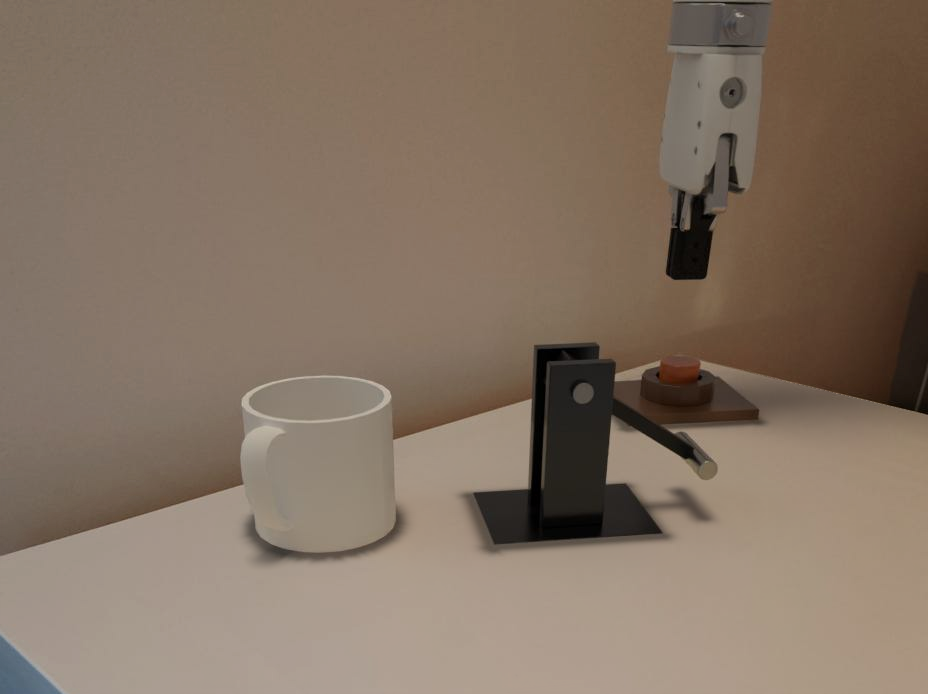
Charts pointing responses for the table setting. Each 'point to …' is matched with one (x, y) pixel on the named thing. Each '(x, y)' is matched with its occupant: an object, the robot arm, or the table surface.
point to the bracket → (567, 458)
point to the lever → (661, 435)
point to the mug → (319, 462)
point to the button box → (685, 399)
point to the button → (679, 369)
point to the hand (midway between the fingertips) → (685, 277)
